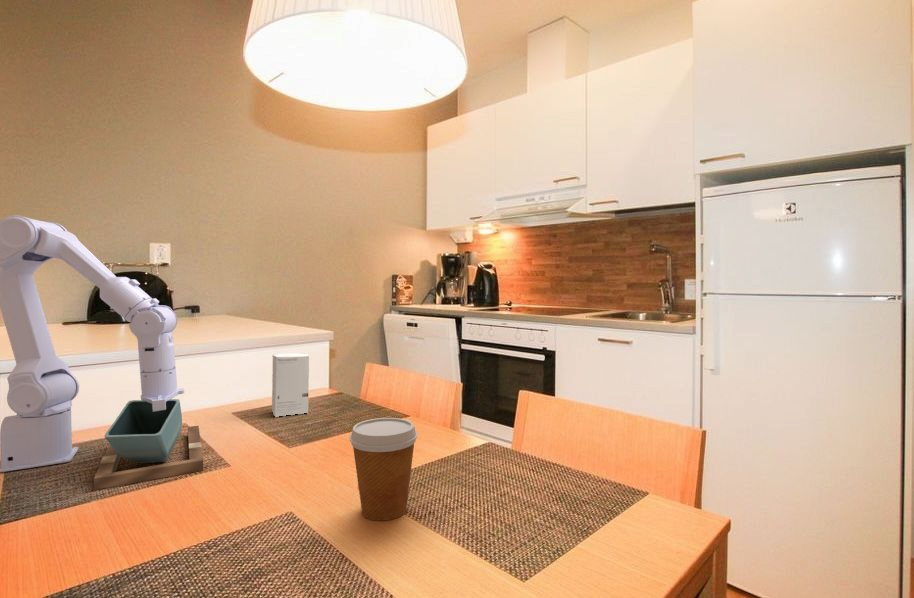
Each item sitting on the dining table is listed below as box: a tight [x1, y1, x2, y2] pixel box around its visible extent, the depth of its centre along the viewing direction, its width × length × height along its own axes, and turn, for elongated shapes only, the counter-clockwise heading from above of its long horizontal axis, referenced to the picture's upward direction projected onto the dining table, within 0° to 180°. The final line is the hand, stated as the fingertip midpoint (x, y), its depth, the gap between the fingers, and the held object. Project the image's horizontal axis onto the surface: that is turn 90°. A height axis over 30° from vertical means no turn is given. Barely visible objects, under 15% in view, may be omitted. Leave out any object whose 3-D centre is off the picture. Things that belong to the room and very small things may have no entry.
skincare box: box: [271, 353, 310, 418], centre depth 117 cm, size 8×6×15 cm
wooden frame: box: [93, 425, 204, 491], centre depth 86 cm, size 15×24×2 cm, turn 31°
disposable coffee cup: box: [348, 417, 419, 522], centre depth 66 cm, size 10×10×12 cm
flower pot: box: [104, 398, 183, 464], centre depth 83 cm, size 9×9×9 cm
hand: (163, 440), depth 89 cm, fingers closed, pressing on flower pot
